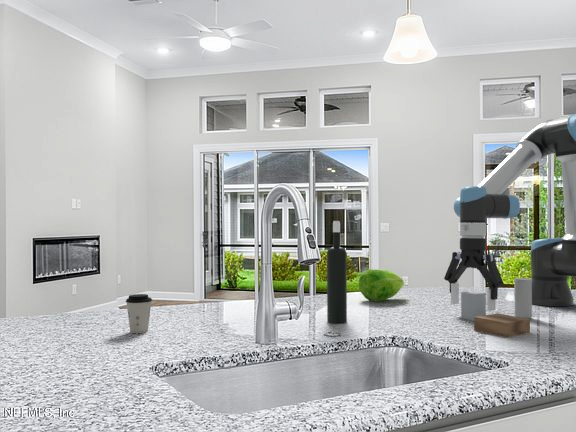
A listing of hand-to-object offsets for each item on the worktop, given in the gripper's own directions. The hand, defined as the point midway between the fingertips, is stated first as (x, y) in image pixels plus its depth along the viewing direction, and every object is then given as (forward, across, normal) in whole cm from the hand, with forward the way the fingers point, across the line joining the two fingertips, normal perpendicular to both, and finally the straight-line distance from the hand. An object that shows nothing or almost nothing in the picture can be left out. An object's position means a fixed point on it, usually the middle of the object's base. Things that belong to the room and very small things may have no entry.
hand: (472, 307), depth 156 cm
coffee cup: (+5, -35, -92) cm, 98 cm away
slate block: (+4, 0, 0) cm, 4 cm away
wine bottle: (+4, -18, -38) cm, 42 cm away
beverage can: (+4, +7, +14) cm, 16 cm away
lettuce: (+4, -42, +1) cm, 42 cm away
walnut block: (+4, +16, -8) cm, 18 cm away
